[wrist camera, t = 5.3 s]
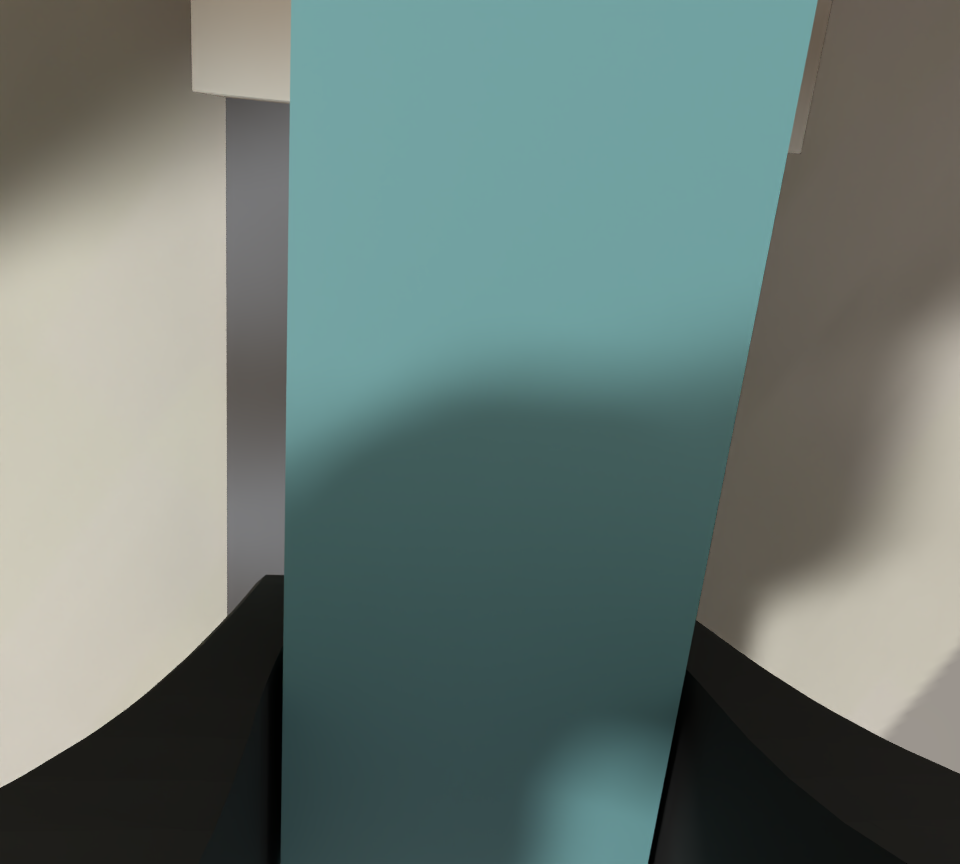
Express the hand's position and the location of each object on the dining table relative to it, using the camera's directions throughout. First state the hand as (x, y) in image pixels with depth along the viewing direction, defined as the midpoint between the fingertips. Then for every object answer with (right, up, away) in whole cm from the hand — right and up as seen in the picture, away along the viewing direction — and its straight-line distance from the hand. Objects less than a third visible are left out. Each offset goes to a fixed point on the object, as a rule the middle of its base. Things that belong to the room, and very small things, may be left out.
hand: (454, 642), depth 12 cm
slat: (0, +1, +2) cm, 2 cm away
